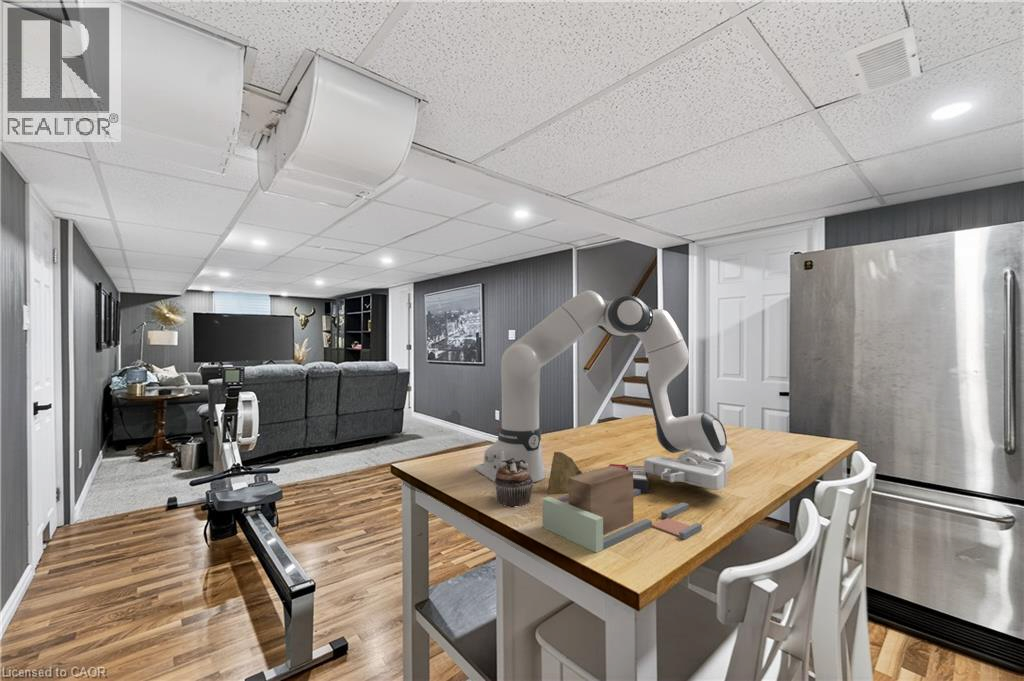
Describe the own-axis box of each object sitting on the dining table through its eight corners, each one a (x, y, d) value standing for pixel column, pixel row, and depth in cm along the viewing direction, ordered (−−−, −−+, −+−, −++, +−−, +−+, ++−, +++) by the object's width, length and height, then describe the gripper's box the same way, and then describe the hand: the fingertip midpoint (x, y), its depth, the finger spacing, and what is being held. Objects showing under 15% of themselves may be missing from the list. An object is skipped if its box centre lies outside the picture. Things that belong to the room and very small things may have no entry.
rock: (589, 475, 119) (554, 467, 121) (591, 455, 113) (554, 448, 116) (583, 510, 110) (545, 501, 113) (585, 490, 105) (545, 482, 108)
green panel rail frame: (519, 516, 96) (519, 489, 96) (612, 485, 117) (612, 463, 117) (630, 569, 73) (630, 534, 73) (721, 519, 94) (720, 492, 94)
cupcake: (486, 503, 104) (486, 462, 104) (508, 491, 112) (508, 453, 112) (519, 511, 99) (519, 468, 99) (540, 498, 107) (540, 458, 107)
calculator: (646, 465, 125) (648, 477, 110) (646, 480, 125) (648, 494, 110) (608, 462, 128) (604, 474, 113) (608, 477, 128) (605, 491, 113)
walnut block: (568, 530, 89) (568, 477, 89) (611, 513, 98) (610, 465, 98) (590, 541, 84) (590, 484, 84) (633, 522, 93) (633, 471, 93)
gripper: (659, 448, 123) (630, 456, 115) (732, 463, 107) (705, 474, 99) (660, 470, 123) (631, 480, 115) (733, 488, 107) (705, 501, 99)
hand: (666, 477), depth 107 cm, fingers closed
